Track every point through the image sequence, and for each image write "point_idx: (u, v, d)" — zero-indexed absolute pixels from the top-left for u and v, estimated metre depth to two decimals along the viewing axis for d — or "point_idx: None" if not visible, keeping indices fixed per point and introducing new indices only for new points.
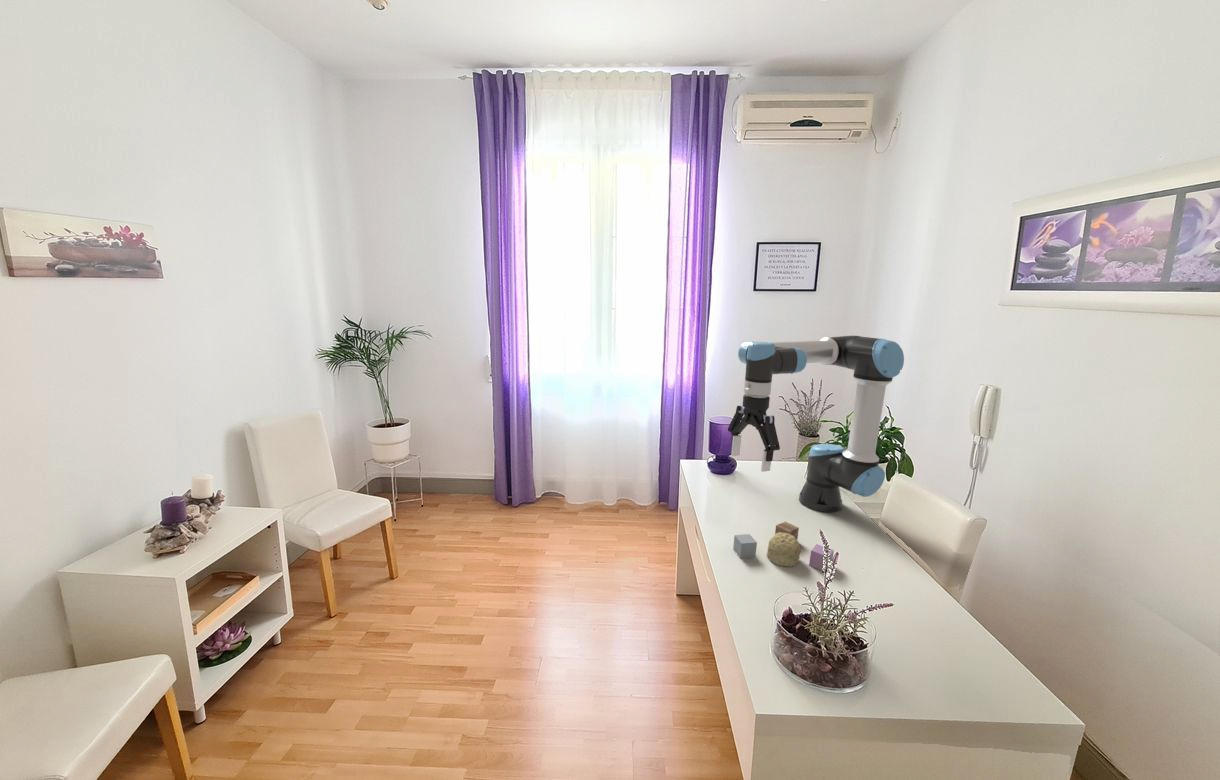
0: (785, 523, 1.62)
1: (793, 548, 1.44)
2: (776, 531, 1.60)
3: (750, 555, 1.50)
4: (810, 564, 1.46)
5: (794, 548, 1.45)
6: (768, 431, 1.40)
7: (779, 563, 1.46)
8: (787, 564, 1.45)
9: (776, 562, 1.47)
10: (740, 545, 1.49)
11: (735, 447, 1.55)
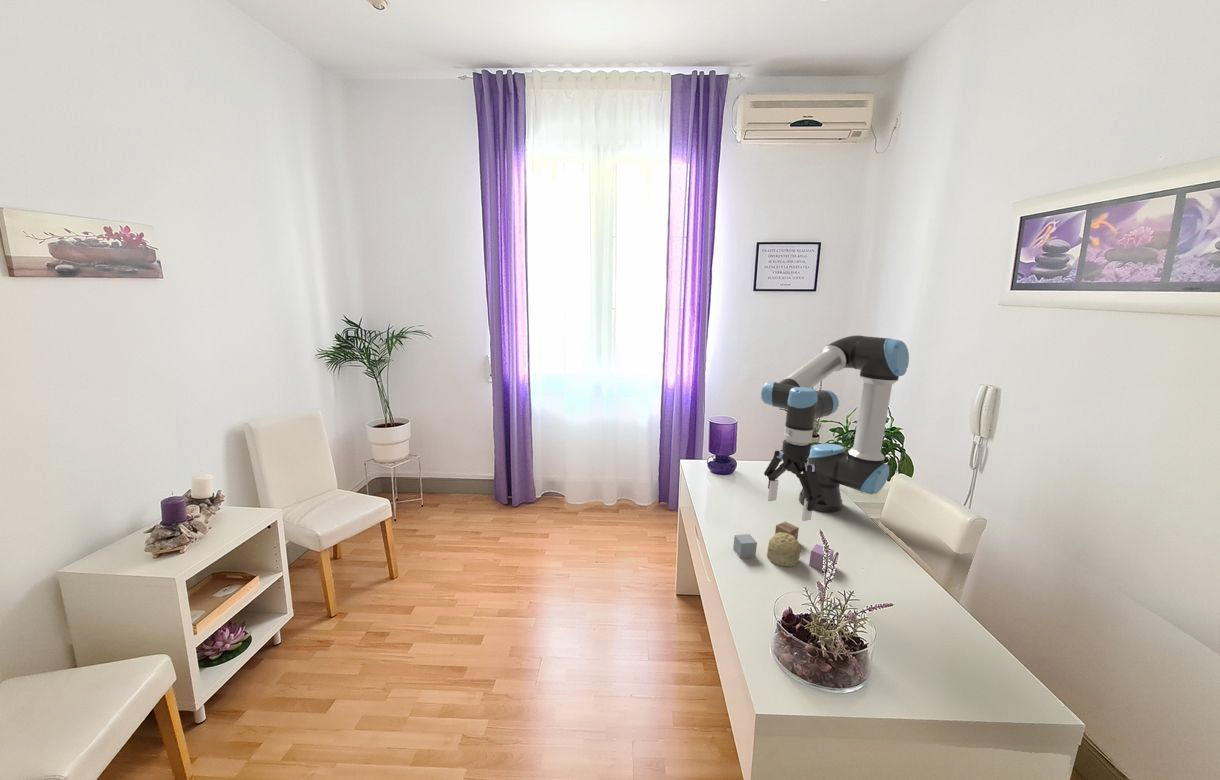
0: (785, 523, 1.62)
1: (793, 548, 1.44)
2: (776, 531, 1.60)
3: (750, 555, 1.50)
4: (810, 564, 1.46)
5: (794, 547, 1.45)
6: (810, 480, 1.36)
7: (779, 563, 1.46)
8: (787, 564, 1.45)
9: (776, 562, 1.47)
10: (740, 545, 1.49)
11: (772, 492, 1.51)
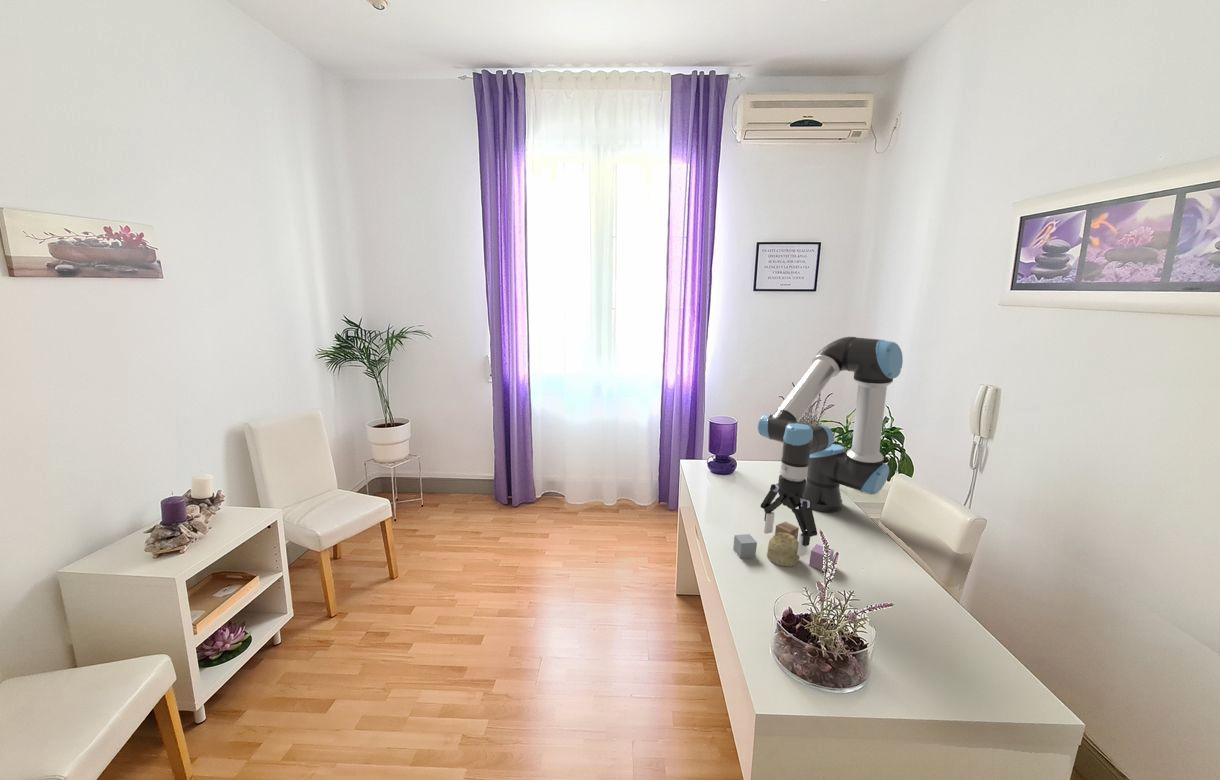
0: (785, 523, 1.62)
1: (793, 548, 1.44)
2: (776, 531, 1.60)
3: (750, 555, 1.50)
4: (810, 564, 1.46)
5: (794, 547, 1.45)
6: (805, 516, 1.39)
7: (779, 563, 1.46)
8: (787, 564, 1.45)
9: (776, 562, 1.47)
10: (740, 545, 1.49)
11: (769, 525, 1.53)
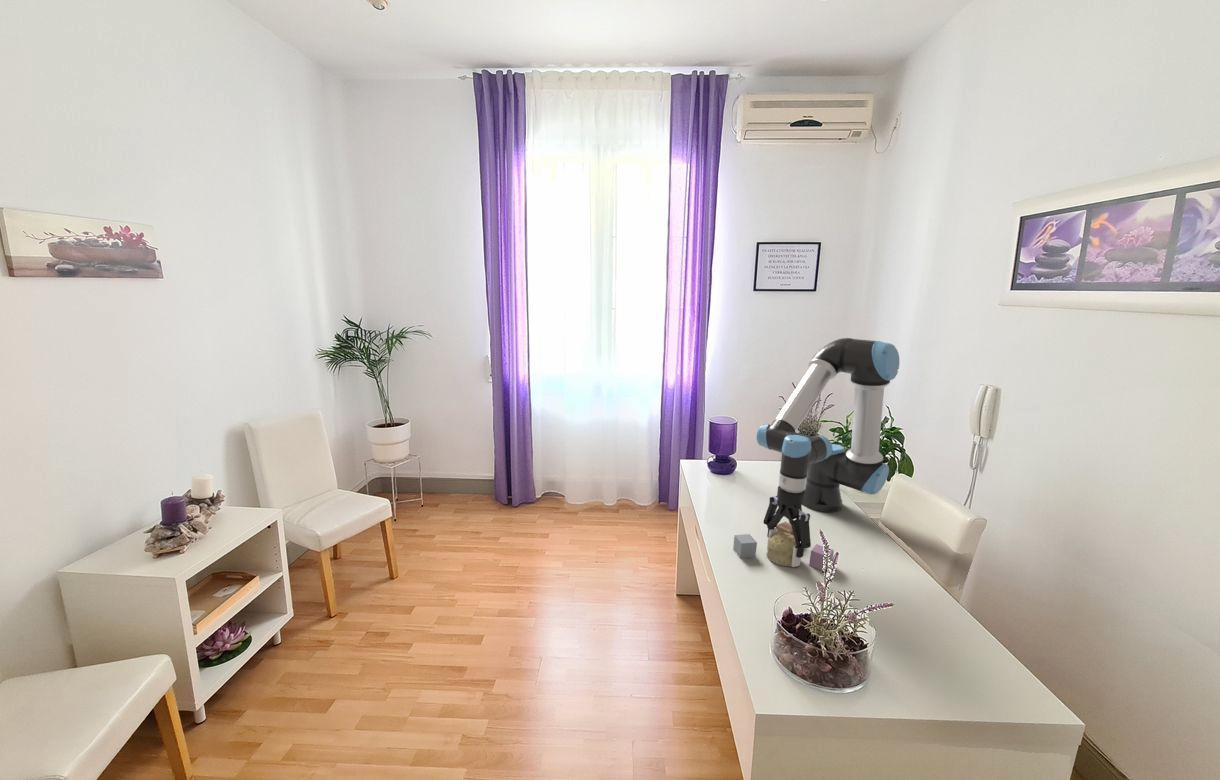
0: (785, 523, 1.62)
1: None
2: None
3: (750, 555, 1.50)
4: (810, 564, 1.46)
5: None
6: (802, 529, 1.40)
7: (779, 563, 1.46)
8: (787, 564, 1.45)
9: (776, 562, 1.47)
10: (740, 545, 1.49)
11: None
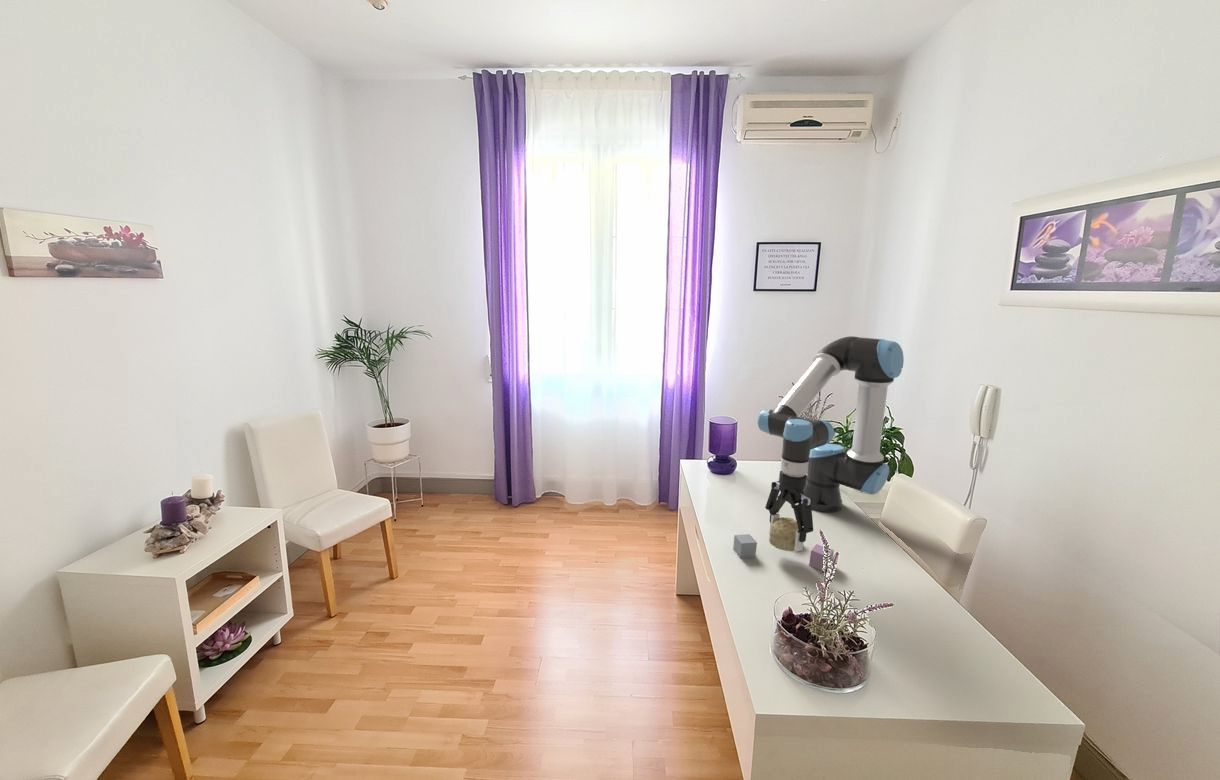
0: None
1: None
2: None
3: (750, 555, 1.50)
4: (810, 564, 1.46)
5: None
6: (804, 513, 1.40)
7: (781, 548, 1.45)
8: (789, 549, 1.44)
9: (778, 547, 1.46)
10: (740, 545, 1.49)
11: None
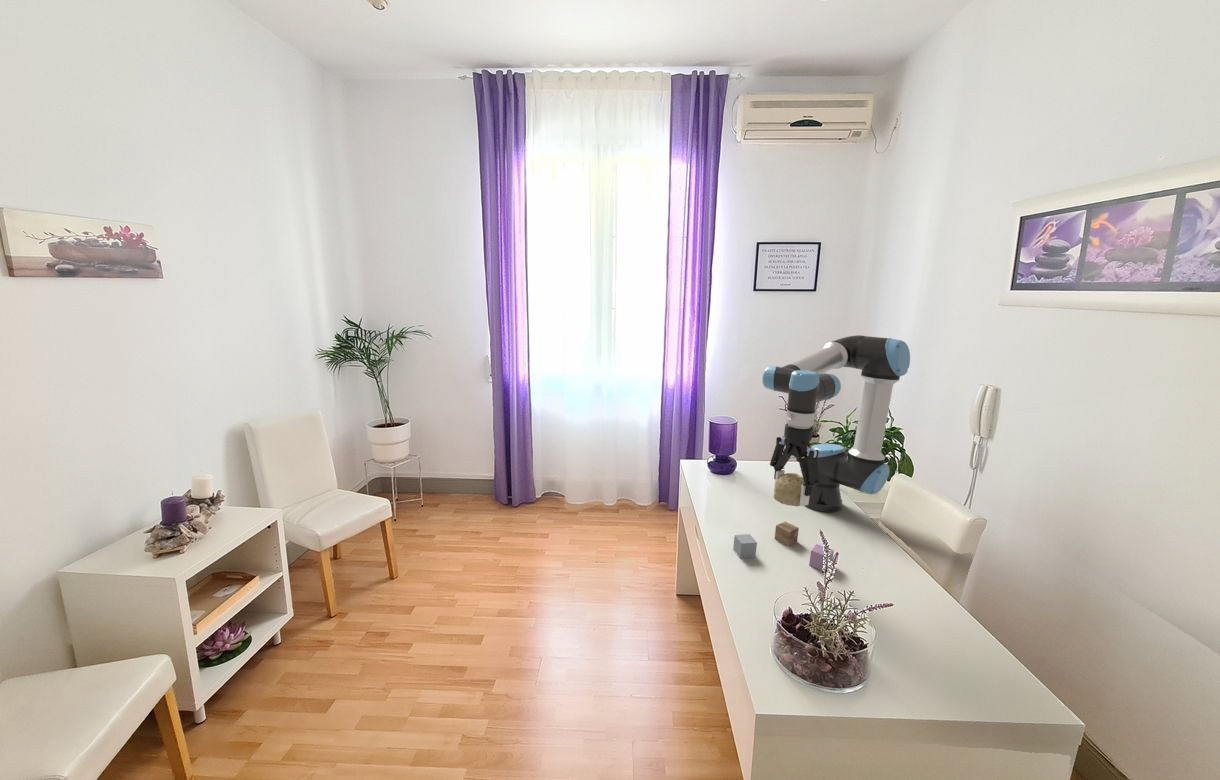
0: (785, 523, 1.62)
1: None
2: (776, 531, 1.60)
3: (750, 555, 1.50)
4: (810, 564, 1.46)
5: None
6: (810, 466, 1.36)
7: (786, 503, 1.42)
8: (795, 503, 1.41)
9: (783, 502, 1.42)
10: (740, 545, 1.49)
11: None
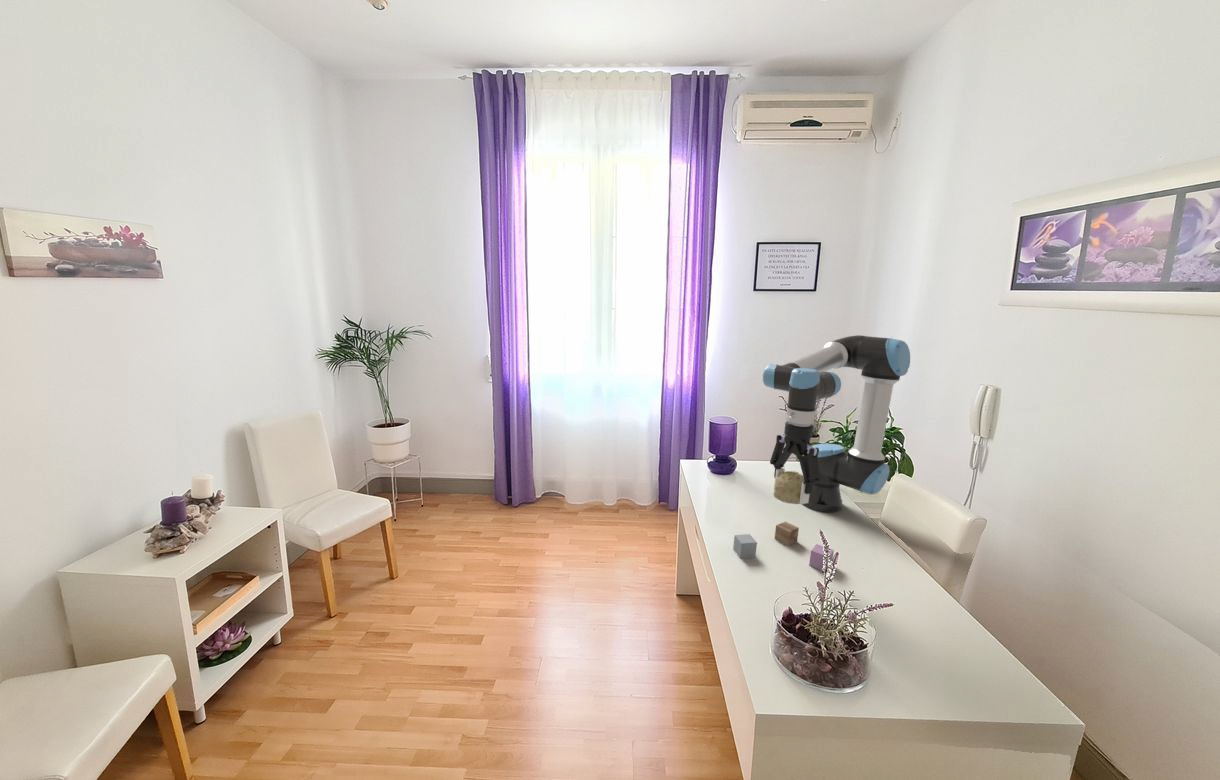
0: (785, 523, 1.62)
1: (801, 485, 1.40)
2: (776, 531, 1.60)
3: (750, 555, 1.50)
4: (810, 564, 1.46)
5: None
6: (810, 463, 1.36)
7: (786, 500, 1.42)
8: (795, 501, 1.41)
9: (783, 500, 1.42)
10: (740, 545, 1.49)
11: None
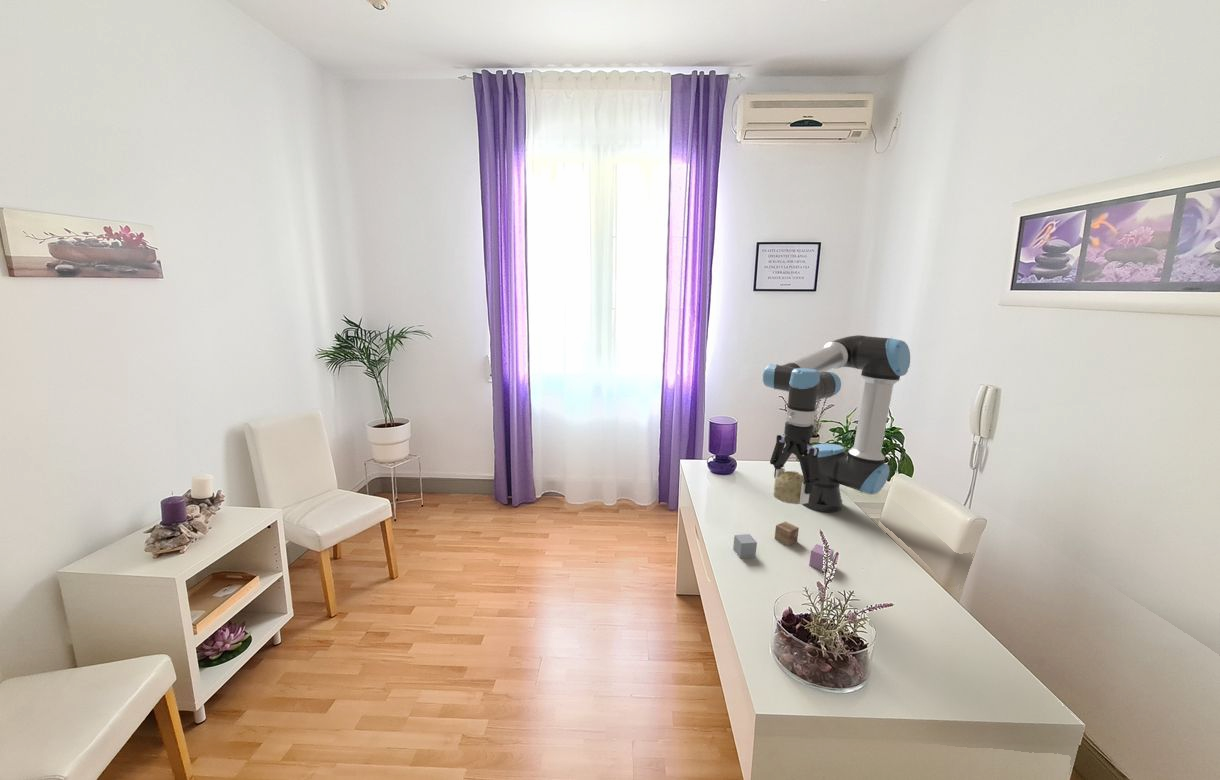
0: (785, 523, 1.62)
1: (801, 485, 1.40)
2: (776, 531, 1.60)
3: (750, 555, 1.50)
4: (810, 564, 1.46)
5: None
6: (810, 463, 1.36)
7: (786, 500, 1.42)
8: (795, 501, 1.41)
9: (783, 500, 1.42)
10: (740, 545, 1.49)
11: None
